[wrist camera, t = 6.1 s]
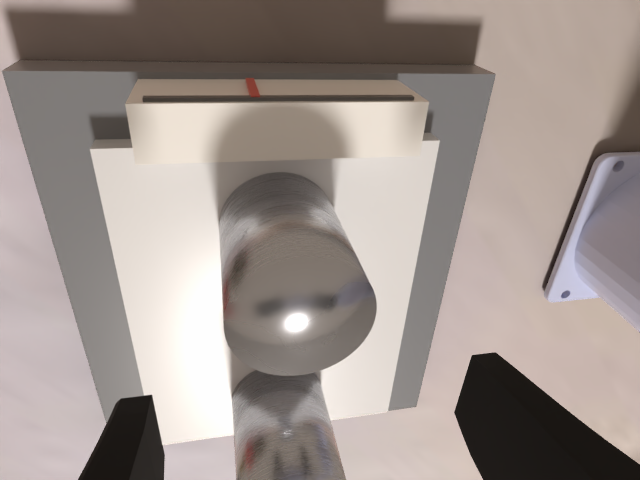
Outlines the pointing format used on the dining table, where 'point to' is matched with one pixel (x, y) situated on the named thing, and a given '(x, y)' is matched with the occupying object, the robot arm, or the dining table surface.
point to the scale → (214, 189)
